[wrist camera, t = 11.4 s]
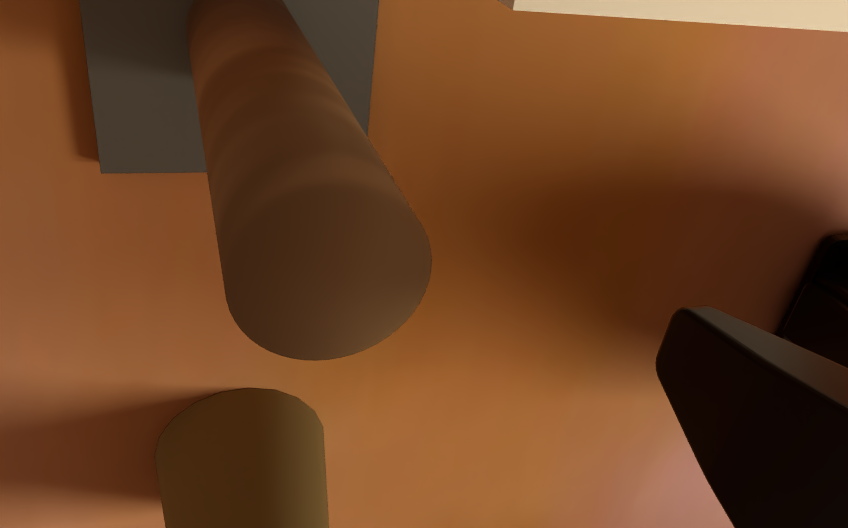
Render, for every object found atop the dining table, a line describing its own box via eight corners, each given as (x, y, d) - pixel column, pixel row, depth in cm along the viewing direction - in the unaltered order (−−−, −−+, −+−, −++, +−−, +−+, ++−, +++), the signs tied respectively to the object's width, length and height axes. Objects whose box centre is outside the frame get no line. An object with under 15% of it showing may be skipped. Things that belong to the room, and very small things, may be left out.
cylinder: (294, -20, 17) (443, 180, 9) (293, 84, 19) (420, 348, 10) (182, -25, 16) (219, 190, 8) (190, 84, 18) (229, 371, 9)
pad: (381, -101, 17) (387, -98, 17) (359, 162, 21) (364, 170, 21) (65, -135, 15) (62, -134, 15) (102, 163, 19) (100, 173, 18)
